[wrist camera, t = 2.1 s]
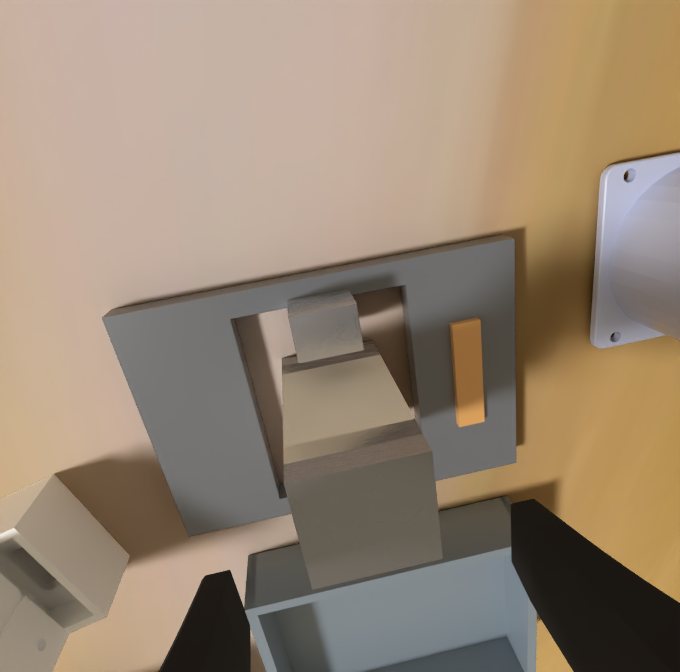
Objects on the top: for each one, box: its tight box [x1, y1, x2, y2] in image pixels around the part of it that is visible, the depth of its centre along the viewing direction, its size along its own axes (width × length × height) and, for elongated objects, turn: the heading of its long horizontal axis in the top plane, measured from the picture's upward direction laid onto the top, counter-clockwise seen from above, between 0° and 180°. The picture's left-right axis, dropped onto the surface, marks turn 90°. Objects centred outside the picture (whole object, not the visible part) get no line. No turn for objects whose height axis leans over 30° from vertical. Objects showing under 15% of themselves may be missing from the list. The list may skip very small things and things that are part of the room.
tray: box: [244, 496, 537, 672], centre depth 23 cm, size 14×11×3 cm
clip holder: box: [102, 235, 516, 537], centre depth 18 cm, size 16×11×3 cm
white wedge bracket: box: [0, 474, 130, 672], centre depth 17 cm, size 4×10×9 cm
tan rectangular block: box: [282, 340, 443, 590], centre depth 16 cm, size 4×4×8 cm
